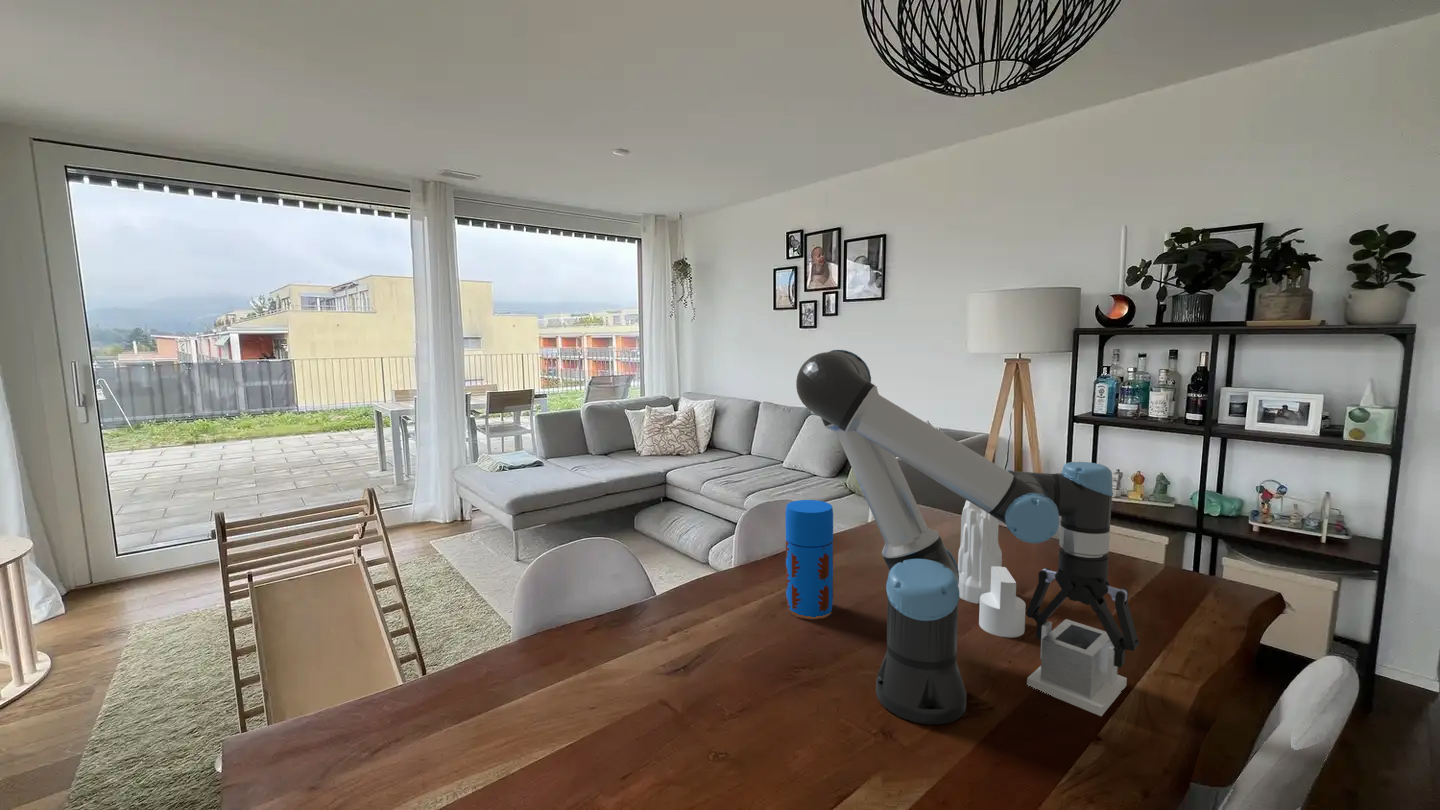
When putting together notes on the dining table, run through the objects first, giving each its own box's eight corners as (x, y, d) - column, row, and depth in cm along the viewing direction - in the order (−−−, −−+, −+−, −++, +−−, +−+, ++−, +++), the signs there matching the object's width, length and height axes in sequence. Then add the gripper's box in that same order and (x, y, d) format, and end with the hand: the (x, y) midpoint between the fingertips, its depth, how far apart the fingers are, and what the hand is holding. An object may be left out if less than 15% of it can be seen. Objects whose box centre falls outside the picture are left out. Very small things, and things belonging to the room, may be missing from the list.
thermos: (831, 600, 146) (831, 499, 143) (835, 620, 136) (835, 513, 133) (786, 599, 147) (785, 499, 144) (786, 619, 137) (785, 512, 134)
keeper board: (1101, 716, 101) (1103, 677, 100) (1026, 685, 110) (1028, 649, 109) (1126, 685, 109) (1128, 649, 108) (1055, 659, 118) (1056, 625, 117)
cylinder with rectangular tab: (1029, 639, 126) (1032, 584, 125) (984, 635, 128) (985, 581, 126) (1017, 619, 135) (1019, 567, 133) (975, 616, 137) (976, 565, 135)
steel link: (1090, 700, 102) (1092, 656, 101) (1040, 680, 108) (1042, 638, 108) (1111, 675, 110) (1114, 634, 109) (1064, 658, 116) (1066, 618, 115)
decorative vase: (1010, 604, 142) (1014, 501, 139) (965, 605, 142) (968, 501, 139) (991, 585, 153) (994, 489, 150) (948, 585, 153) (951, 489, 150)
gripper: (1167, 562, 100) (1158, 687, 103) (1025, 530, 117) (1021, 638, 120) (1154, 574, 95) (1145, 705, 98) (1008, 539, 112) (1004, 651, 115)
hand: (1077, 668), depth 109 cm, fingers open, 10 cm apart
